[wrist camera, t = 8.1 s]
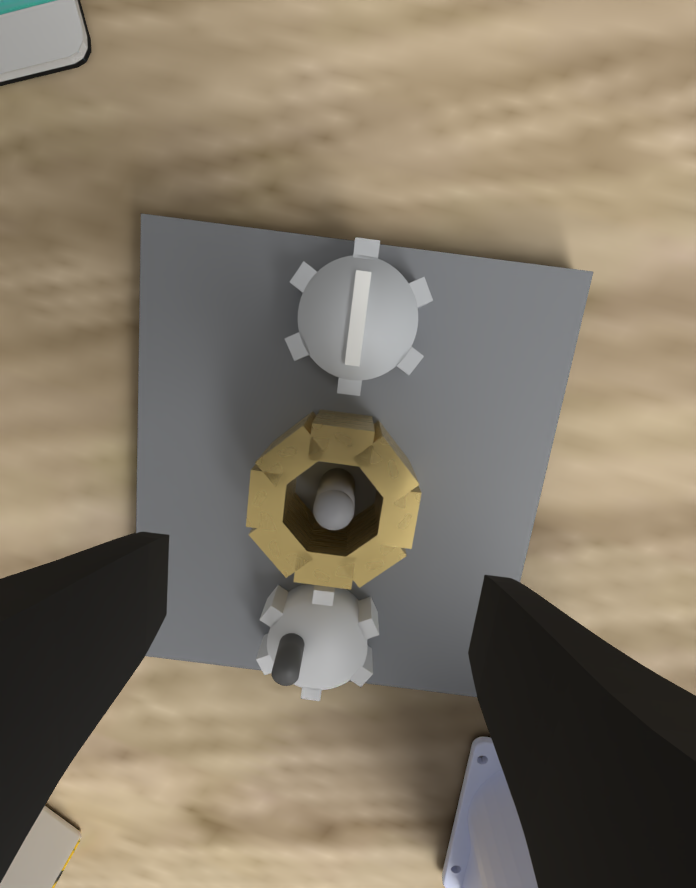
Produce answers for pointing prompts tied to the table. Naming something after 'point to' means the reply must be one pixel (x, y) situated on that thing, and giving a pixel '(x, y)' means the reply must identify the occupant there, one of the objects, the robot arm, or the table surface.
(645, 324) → the table surface
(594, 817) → the robot arm
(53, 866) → the medicine bottle
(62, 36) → the smartphone
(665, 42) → the table surface
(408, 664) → the gear board
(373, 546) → the brass gear
